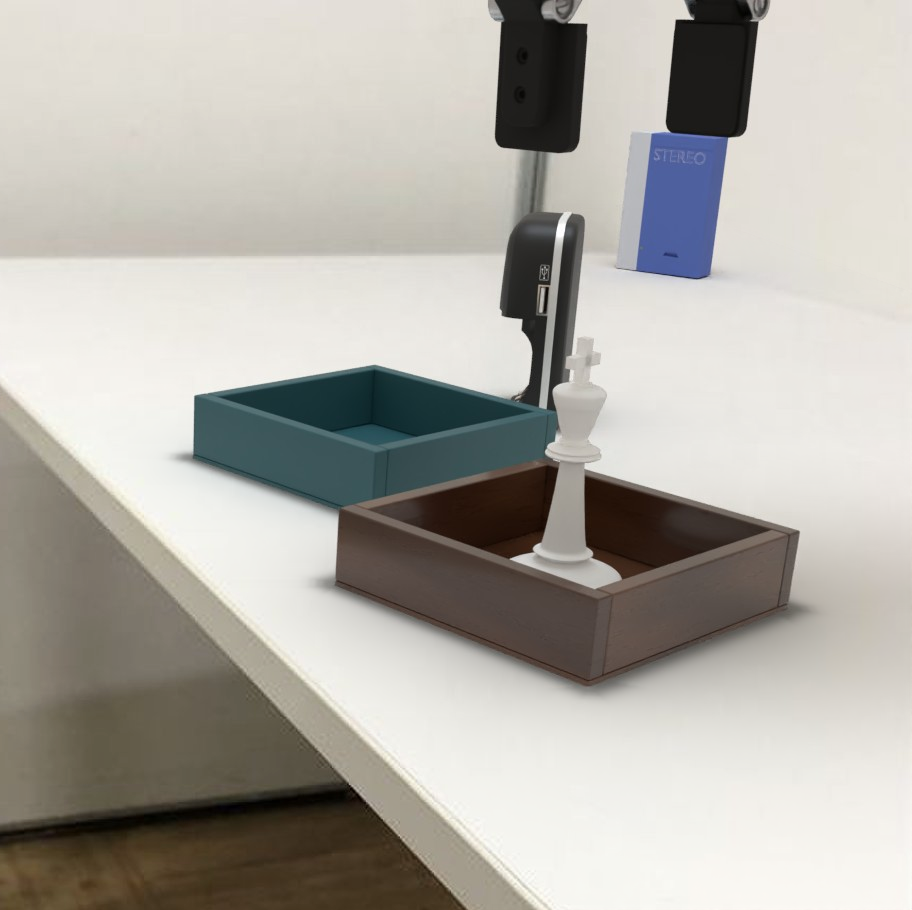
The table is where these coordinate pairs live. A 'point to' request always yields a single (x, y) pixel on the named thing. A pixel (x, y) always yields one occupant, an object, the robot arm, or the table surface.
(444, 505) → the walnut tray
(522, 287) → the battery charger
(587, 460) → the chess piece
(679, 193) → the walkman
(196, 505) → the table surface
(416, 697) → the table surface
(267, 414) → the teal tray
